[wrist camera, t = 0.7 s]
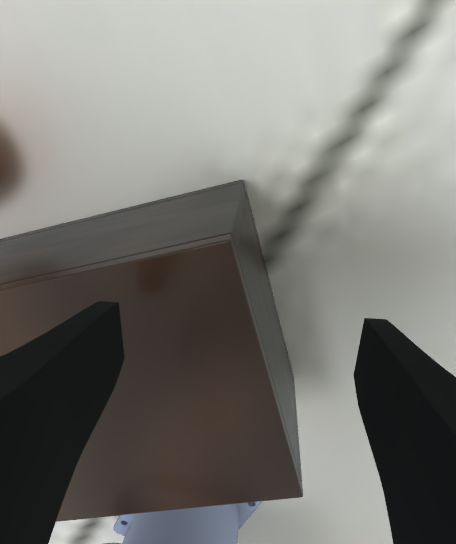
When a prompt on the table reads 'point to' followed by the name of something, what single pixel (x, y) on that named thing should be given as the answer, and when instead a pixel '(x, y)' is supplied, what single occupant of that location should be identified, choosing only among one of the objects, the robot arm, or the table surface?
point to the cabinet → (168, 352)
